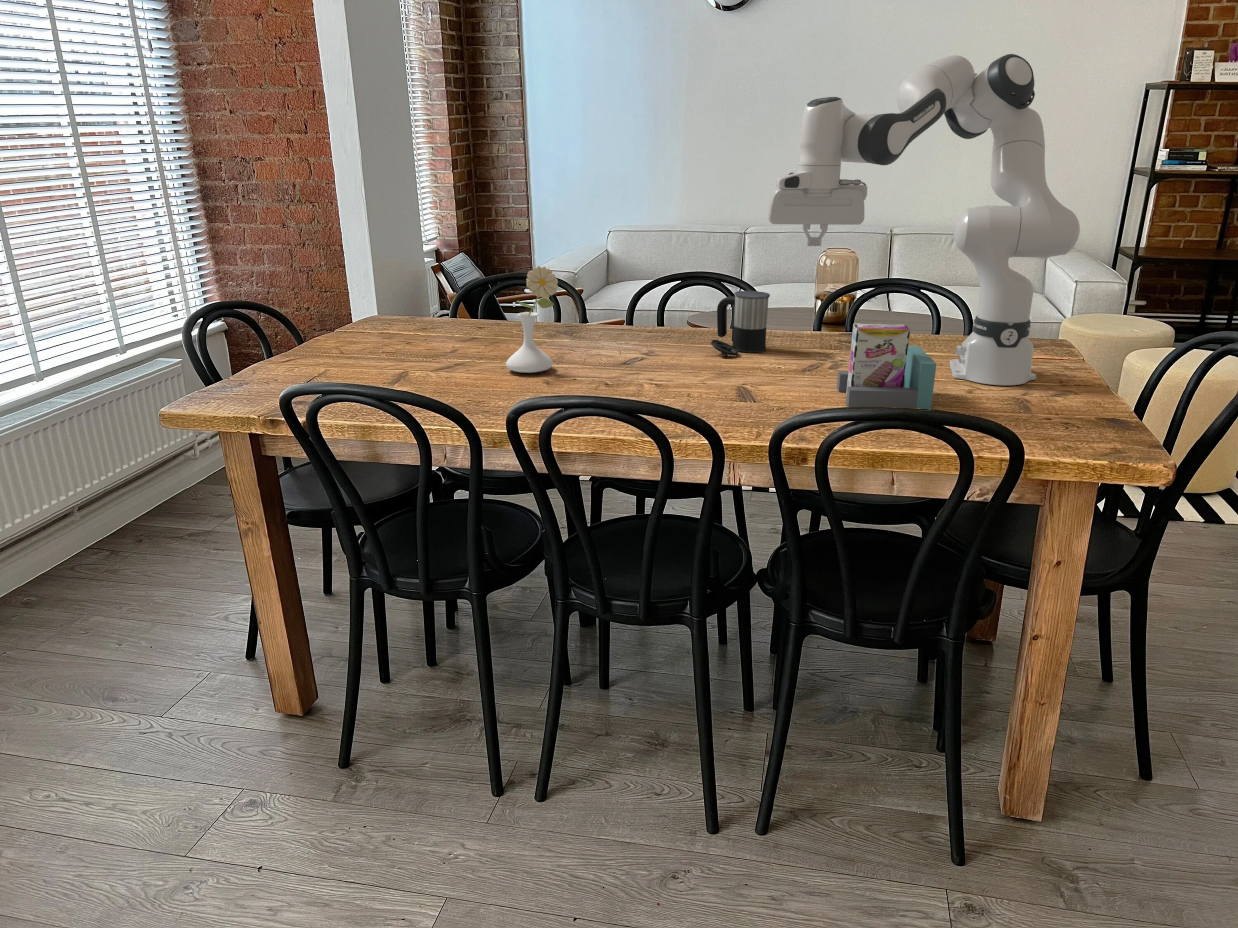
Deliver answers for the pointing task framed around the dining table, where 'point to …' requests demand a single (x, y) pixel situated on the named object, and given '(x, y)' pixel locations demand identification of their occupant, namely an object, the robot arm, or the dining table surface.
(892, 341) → the candy bar box
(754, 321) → the milk frother
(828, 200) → the robot arm
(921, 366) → the grey and teal stand
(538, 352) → the flower in vase
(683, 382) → the dining table surface
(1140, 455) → the dining table surface
